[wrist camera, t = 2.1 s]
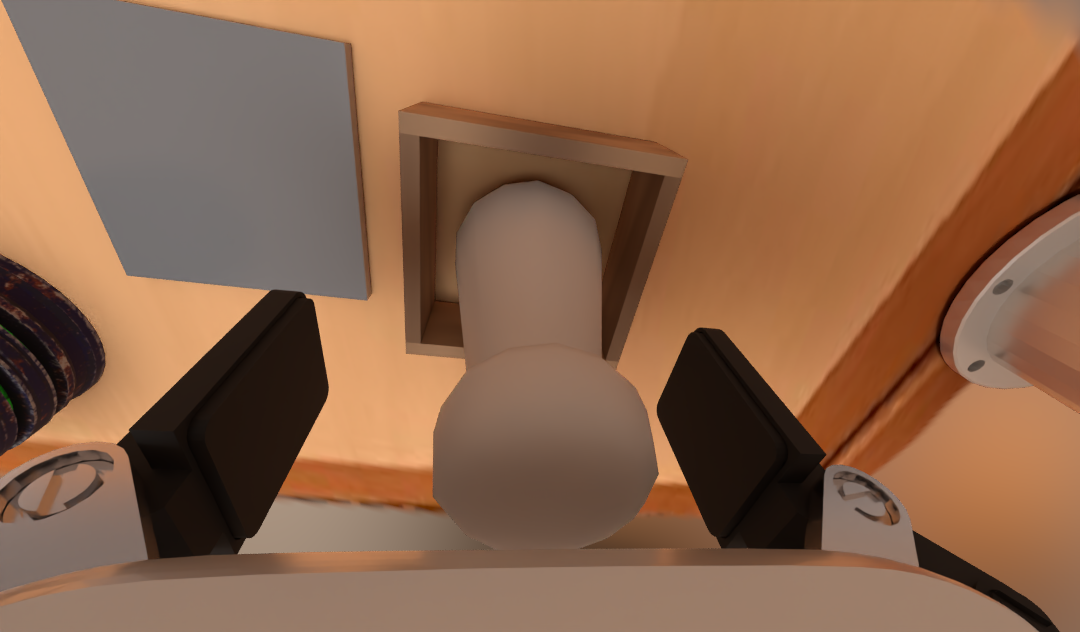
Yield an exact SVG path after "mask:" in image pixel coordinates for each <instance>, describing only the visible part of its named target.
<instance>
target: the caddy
mask: <svg viewBox="0 0 1080 632" xmlns="http://www.w3.org/2000/svg"><path fill="white" fill-rule="evenodd" d="M438 139H441V140H447V141H453V142H460V143H466V144H472V145H478V146H484V147H491V148H497V149H503V150H509V151H515V152H522V153H528V154H534V155H540V156H547V157H553V158H559V159H565V160H571V161H578V162H584V163H590V164H596V165H603V166H609V167H615V168H621V169H627V170H633V172H632V175H631V179H630V183H629V186H628V190H627V194H626V197H625V201H624V204H623V208H622V212H621V215H620V219H619V222H618V226H617V230H616V233H615V237H614V241H613V244H612V248H611V251H610V255H609V259H608V262H607V266H606V270H605V273H604V277H603V280H602V359H604V360H605V361H606V362H607V363H608V364H609V365H610V366H612V367H613V368H614V369H615V370H616V368H617V365H618V362H619V359H620V356H621V353H622V350H623V347H624V345H625V342H626V339H627V336H628V333H629V330H630V327H631V324H632V321H633V318H634V316H635V313H636V310H637V307H638V304H639V301H640V298H641V295H642V292H643V289H644V286H645V284H646V281H647V278H648V275H649V272H650V269H651V266H652V263H653V260H654V257H655V255H656V252H657V249H658V246H659V243H660V240H661V237H662V234H663V231H664V228H665V226H666V223H667V220H668V217H669V214H670V211H671V208H672V205H673V202H674V199H675V196H676V194H677V191H678V188H679V185H680V182H681V179H682V176H683V173H684V170H685V167H686V165H687V162H688V159H686V158H684V157H682V156H681V155H679V154H677V153H675V152H673V151H671V150H669V149H667V148H666V147H664V146H662V145H660V144H658V143H656V142H652V141H646V140H640V139H634V138H629V137H623V136H617V135H611V134H605V133H600V132H594V131H588V130H582V129H576V128H571V127H565V126H559V125H553V124H547V123H542V122H536V121H530V120H524V119H518V118H513V117H507V116H501V115H495V114H489V113H484V112H478V111H472V110H466V109H460V108H455V107H449V106H443V105H437V104H431V103H426V102H420V103H418V104H415V105H413V106H410V107H407V108H405V109H402V110H399V143H400V176H401V208H402V240H403V272H404V304H405V336H406V354H416V355H428V356H439V357H450V358H462V359H465V353H464V343H463V334H462V324H461V314H460V305H459V303H450V302H441V301H435V272H436V216H437V159H438Z"/></svg>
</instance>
